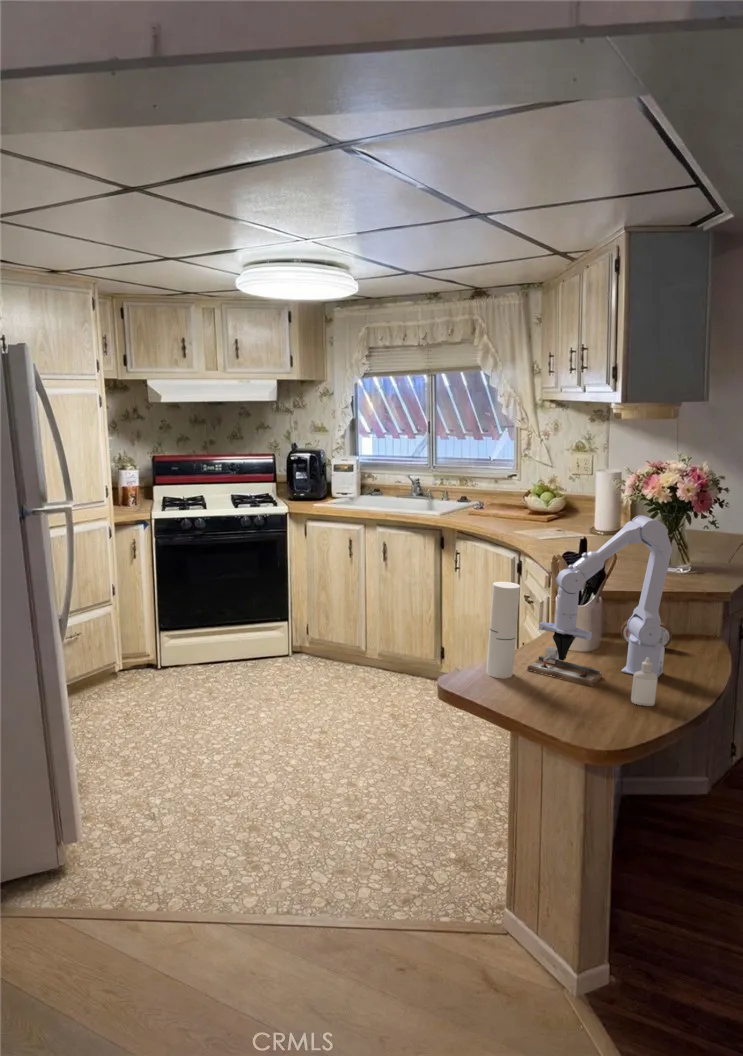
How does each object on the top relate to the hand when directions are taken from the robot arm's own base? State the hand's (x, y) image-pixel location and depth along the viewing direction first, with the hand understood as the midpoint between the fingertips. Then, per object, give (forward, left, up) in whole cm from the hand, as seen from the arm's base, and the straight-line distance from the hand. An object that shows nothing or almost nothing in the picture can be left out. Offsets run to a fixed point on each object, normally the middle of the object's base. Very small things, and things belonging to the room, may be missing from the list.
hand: (562, 659), depth 211 cm
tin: (-13, -38, -3) cm, 40 cm away
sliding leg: (+3, +2, -1) cm, 4 cm away
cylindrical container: (+12, +15, -3) cm, 19 cm away
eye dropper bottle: (-25, +10, -3) cm, 27 cm away
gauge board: (-2, +3, -3) cm, 5 cm away
